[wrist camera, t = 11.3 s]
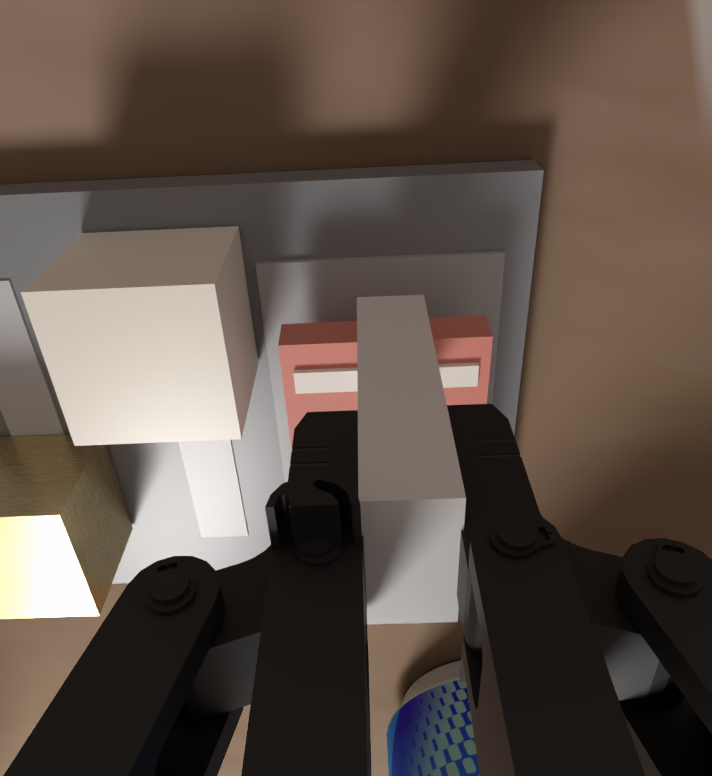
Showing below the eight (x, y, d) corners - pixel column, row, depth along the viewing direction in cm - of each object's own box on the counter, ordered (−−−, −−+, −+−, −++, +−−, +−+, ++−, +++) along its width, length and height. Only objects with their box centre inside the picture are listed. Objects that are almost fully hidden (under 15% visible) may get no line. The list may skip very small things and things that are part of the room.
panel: (12, 566, 24) (-16, 615, 23) (-167, 192, 17) (-231, 220, 15) (494, 548, 24) (506, 596, 22) (534, 159, 17) (557, 184, 15)
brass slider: (14, 533, 22) (-37, 620, 19) (-29, 438, 20) (-94, 520, 17) (132, 528, 22) (99, 615, 19) (102, 433, 20) (59, 515, 17)
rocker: (308, 544, 21) (307, 573, 20) (281, 324, 16) (277, 349, 15) (467, 538, 21) (473, 567, 20) (485, 315, 16) (494, 339, 15)
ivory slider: (117, 369, 19) (74, 445, 16) (79, 233, 16) (20, 292, 13) (258, 363, 18) (241, 439, 16) (238, 225, 16) (214, 283, 13)
